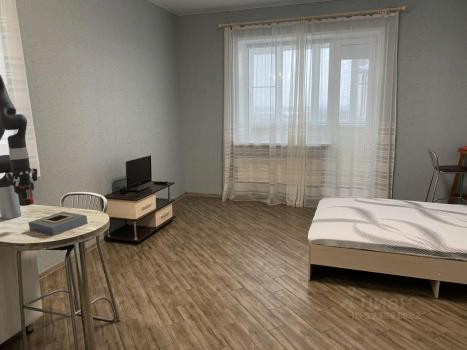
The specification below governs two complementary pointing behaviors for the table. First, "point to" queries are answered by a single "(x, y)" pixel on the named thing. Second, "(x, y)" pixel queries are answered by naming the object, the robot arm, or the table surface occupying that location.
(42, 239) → the table surface
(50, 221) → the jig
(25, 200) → the deodorant
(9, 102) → the robot arm
